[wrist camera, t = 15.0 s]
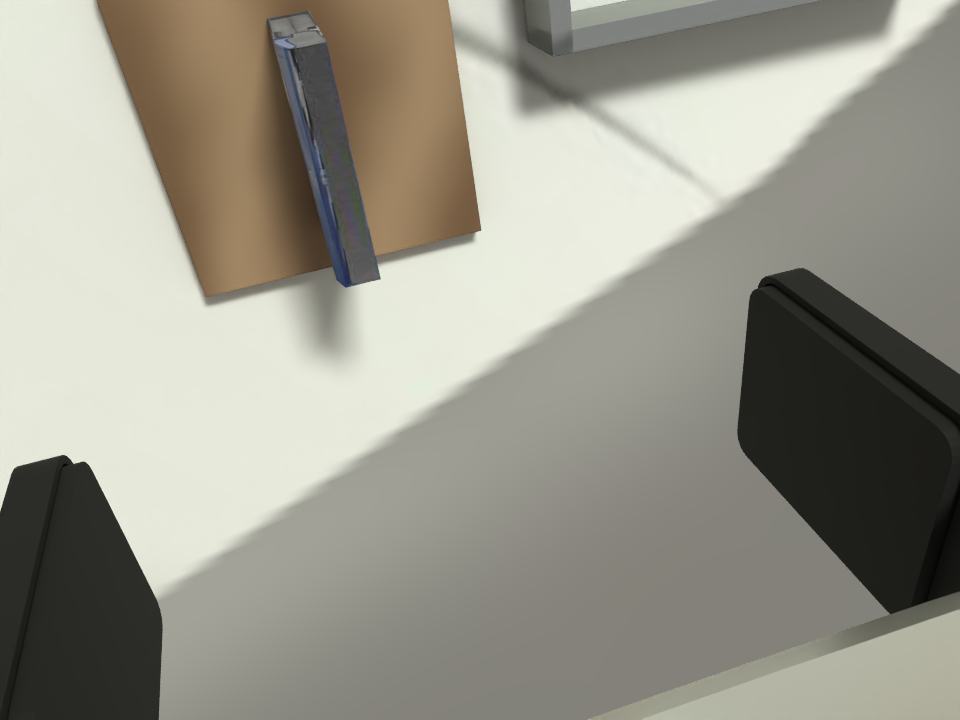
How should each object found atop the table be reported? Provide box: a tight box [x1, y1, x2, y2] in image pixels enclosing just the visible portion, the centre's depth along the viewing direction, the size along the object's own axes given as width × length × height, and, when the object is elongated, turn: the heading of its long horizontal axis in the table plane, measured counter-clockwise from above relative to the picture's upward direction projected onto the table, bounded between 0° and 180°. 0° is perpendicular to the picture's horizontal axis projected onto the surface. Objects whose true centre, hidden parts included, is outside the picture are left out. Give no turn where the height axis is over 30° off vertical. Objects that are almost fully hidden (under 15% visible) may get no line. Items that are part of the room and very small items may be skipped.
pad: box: [97, 0, 481, 297], centre depth 32 cm, size 12×12×1 cm
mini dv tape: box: [267, 11, 380, 287], centre depth 29 cm, size 8×2×6 cm, turn 8°
